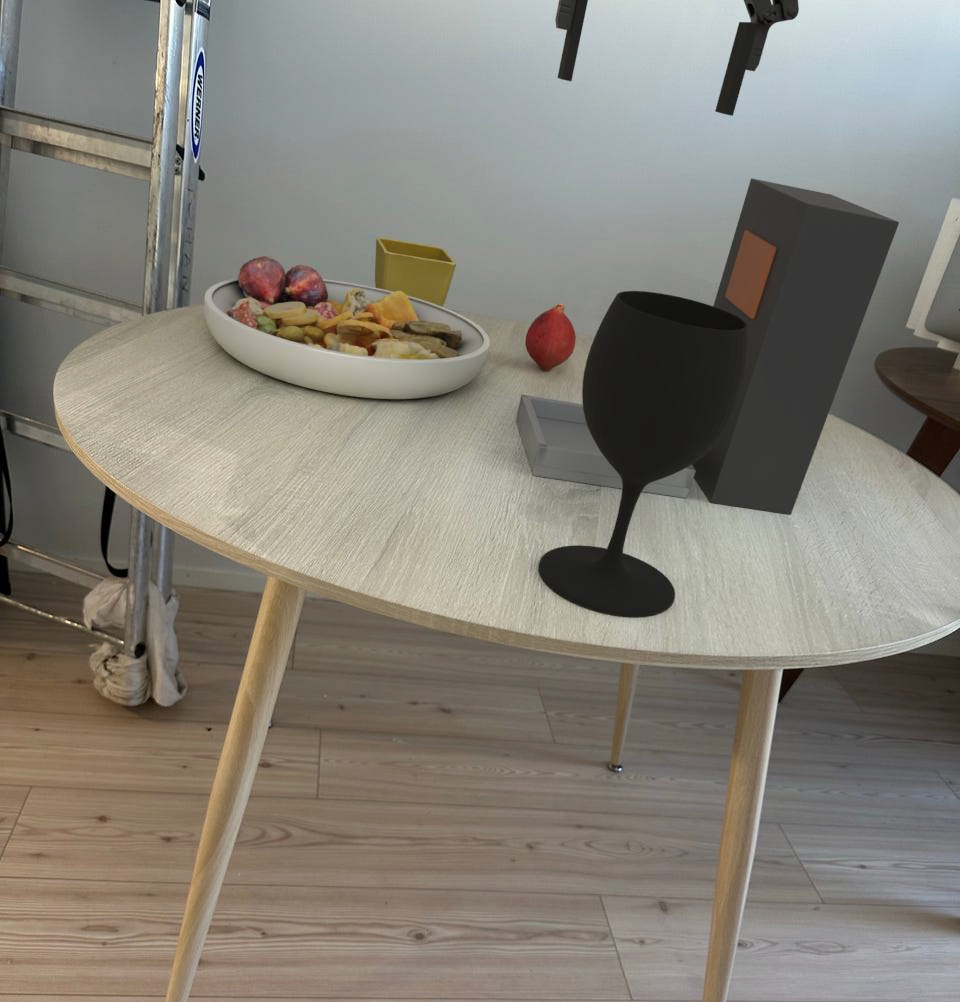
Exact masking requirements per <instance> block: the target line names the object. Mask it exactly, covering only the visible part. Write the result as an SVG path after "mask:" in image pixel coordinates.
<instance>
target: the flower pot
mask: <svg viewBox="0 0 960 1002" xmlns="http://www.w3.org/2000/svg"><path fill="white" fill-rule="evenodd" d="M374 259H375V263H374V285H375V288H379V289H384V290H388V291H392V292H395V291H399V290H400V291H402V292H403V293H405V294H406V295H407V296H411V297H414V298H418V299H421V300H424V301H427V302H430V303H433V304H436V305H438V306H441V307H444V305H445V303H446V300H447V297H448V294H449V291H450V286H451V284H452V280H453V276H454V274H455V269H456V266H457V262H456V261H455V260H454V259H453V257H452V256H451V255H450V254H449V253H448V252H447V251H446V249H445V248H442V247H439V246H438V247H437V246H433V245H428V244H422V243H417V242H411V241H410V242H409V241H404V240H399V239H391V238H386V237H376V238H375V258H374Z"/></svg>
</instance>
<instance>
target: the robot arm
mask: <svg viewBox="0 0 960 1002" xmlns="http://www.w3.org/2000/svg"><path fill="white" fill-rule="evenodd" d="M588 3H589V0H558V4H557V10H556V14H555V28H556V29H559V30H564V31H566V33H565V38H564V43H563V47H562V52H561V58H560V63H559V68H558V73H557V79H560V80H562V81H567V82H572V81H573V75H574V71H575V66H576V62H577V61H576V60H577V56H578V53H579V52H578V51H579V48H580V47H579V46H580V41H581V38H582V37H581V36H582V32H583V26H584V22H585V17H586V12H587V7H588ZM743 4H744V5H745V8H746V11H747V14H748V17H749V19H750V21H739V22H738V24H737V29H736V33H735V36H734V39H733V40H734V41H733V43H732V47H731V51H730V55H729V58H728V62H727V66H726V70H725V73H724V77H723V80H722V84H721V87H720V88H721V89H720V90H719V91H720V92H719V95H718V99H717V103H716V107H715V113H719V114H722V115H727V116H730V117H733V116H734V114H735V110H736V106H737V102H738V98H739V96H740V91H741V88H742V84H743V81H744V78H745V75H746V74H745V73H746V71H749V72H756V70H757V68H758V67H759V66H760V63H761V59H762V55H763V51H764V48H765V45H766V41H767V38H768V34H769V31H770V29H771V27H772V26H773V25H774V24H776V23H782V22H787V21H793V20H794V19H796V18H797V17H798V15H799V13H800V12H799V10H800V7H799V0H743Z"/></svg>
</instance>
